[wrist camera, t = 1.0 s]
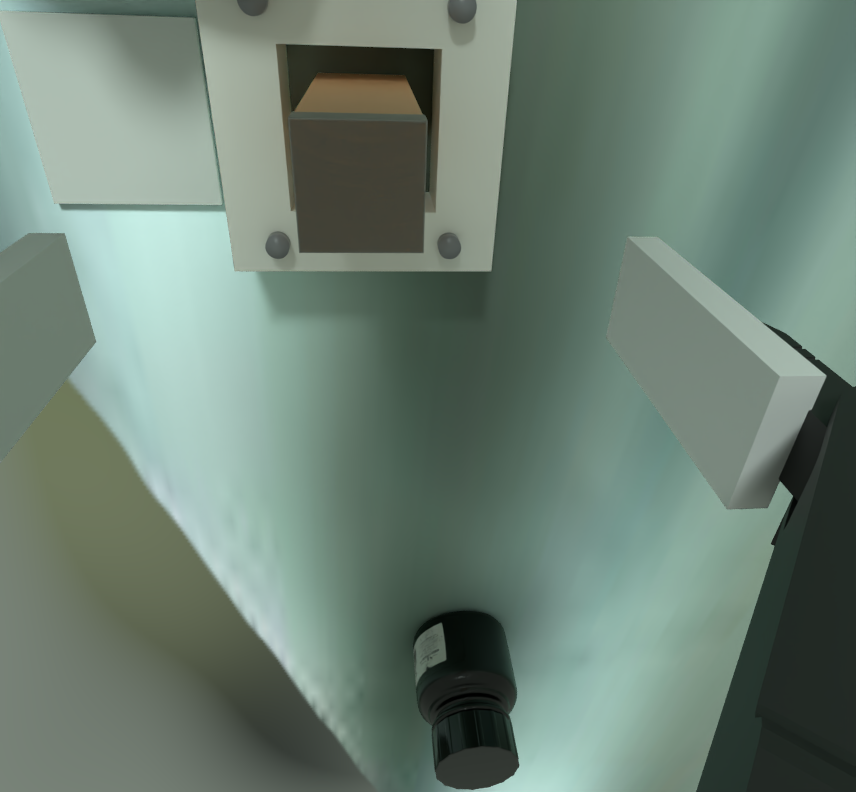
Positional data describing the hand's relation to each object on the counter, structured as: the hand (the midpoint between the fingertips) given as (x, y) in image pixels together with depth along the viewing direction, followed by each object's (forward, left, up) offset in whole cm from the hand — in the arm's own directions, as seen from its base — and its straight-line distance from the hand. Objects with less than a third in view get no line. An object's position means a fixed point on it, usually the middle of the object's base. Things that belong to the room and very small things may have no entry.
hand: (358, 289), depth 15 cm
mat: (0, -13, -22) cm, 25 cm away
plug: (0, 0, -22) cm, 22 cm away
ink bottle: (+45, +8, -22) cm, 51 cm away
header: (0, 0, -22) cm, 22 cm away
